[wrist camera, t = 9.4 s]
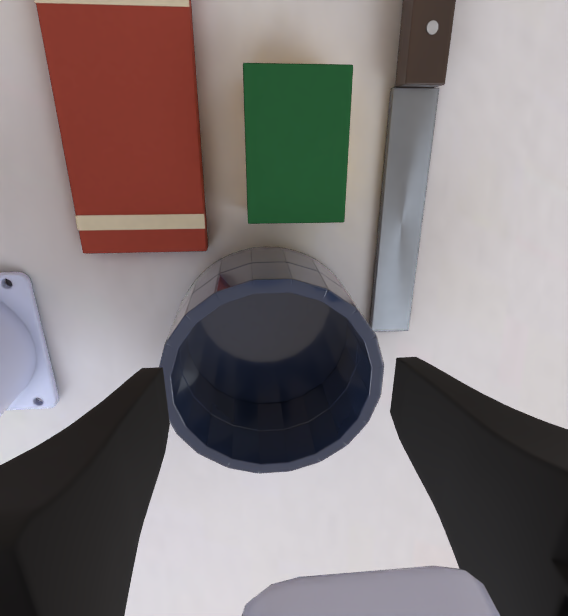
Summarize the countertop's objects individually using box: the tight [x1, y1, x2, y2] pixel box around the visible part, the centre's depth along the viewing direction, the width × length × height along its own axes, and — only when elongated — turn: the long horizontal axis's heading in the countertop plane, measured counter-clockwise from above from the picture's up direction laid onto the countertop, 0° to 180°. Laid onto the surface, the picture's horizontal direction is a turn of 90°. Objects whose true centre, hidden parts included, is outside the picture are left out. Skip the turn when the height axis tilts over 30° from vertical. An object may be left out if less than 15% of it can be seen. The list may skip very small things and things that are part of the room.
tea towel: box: [34, 0, 208, 253], centre depth 18 cm, size 6×12×1 cm, turn 0°
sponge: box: [243, 63, 353, 224], centre depth 18 cm, size 4×6×3 cm
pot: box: [159, 247, 384, 473], centre depth 21 cm, size 10×10×6 cm
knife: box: [370, 0, 456, 332], centre depth 20 cm, size 2×20×2 cm, turn 0°
